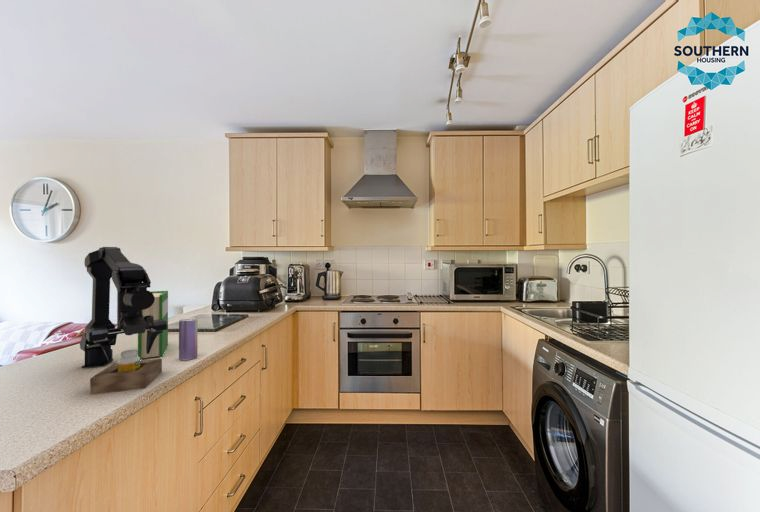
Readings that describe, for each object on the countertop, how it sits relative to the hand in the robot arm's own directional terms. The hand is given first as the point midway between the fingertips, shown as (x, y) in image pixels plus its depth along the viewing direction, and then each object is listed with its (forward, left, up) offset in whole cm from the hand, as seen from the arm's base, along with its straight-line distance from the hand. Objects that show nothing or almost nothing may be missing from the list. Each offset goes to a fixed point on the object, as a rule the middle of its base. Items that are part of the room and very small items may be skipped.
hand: (129, 357), depth 92 cm
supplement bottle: (0, 0, -8) cm, 8 cm away
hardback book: (-4, +32, -8) cm, 33 cm away
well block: (0, 0, -8) cm, 8 cm away
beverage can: (+11, +20, -8) cm, 24 cm away
